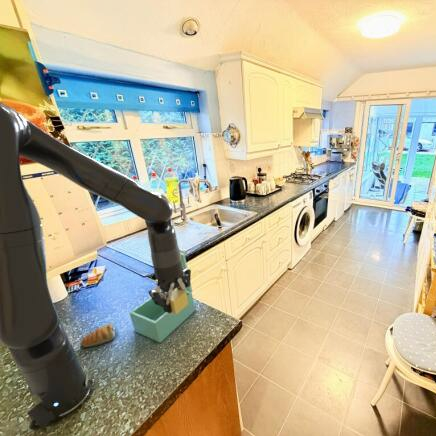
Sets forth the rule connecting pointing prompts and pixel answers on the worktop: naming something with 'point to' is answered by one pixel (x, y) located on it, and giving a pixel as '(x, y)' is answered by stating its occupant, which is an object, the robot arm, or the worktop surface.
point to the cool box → (159, 318)
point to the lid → (184, 264)
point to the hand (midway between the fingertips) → (176, 305)
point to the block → (178, 300)
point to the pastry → (99, 336)
